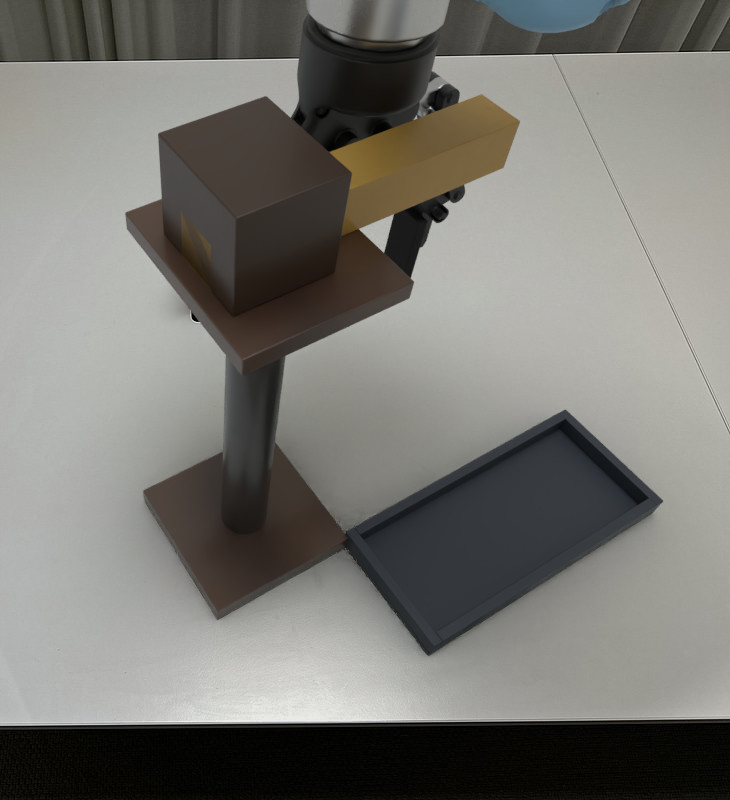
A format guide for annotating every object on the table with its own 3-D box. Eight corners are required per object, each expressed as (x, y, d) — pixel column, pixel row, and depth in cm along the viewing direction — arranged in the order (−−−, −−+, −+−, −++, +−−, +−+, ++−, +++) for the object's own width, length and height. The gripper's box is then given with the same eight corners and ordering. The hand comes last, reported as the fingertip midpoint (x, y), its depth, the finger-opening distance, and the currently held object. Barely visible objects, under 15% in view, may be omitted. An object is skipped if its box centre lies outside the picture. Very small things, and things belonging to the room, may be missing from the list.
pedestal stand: (264, 440, 69) (294, 148, 45) (346, 547, 63) (431, 274, 39) (144, 500, 66) (107, 218, 42) (217, 620, 60) (223, 369, 36)
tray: (557, 421, 70) (565, 408, 69) (652, 512, 65) (664, 500, 63) (342, 542, 63) (345, 531, 62) (428, 656, 58) (434, 646, 56)
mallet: (444, 123, 47) (471, 23, 42) (529, 187, 43) (570, 87, 38) (162, 232, 41) (157, 132, 36) (232, 317, 38) (236, 218, 33)
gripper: (506, -43, 49) (423, 233, 65) (136, 32, 42) (148, 322, 58) (593, 7, 45) (482, 289, 61) (198, 100, 37) (192, 392, 54)
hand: (319, 305), depth 59 cm, fingers open, 13 cm apart
